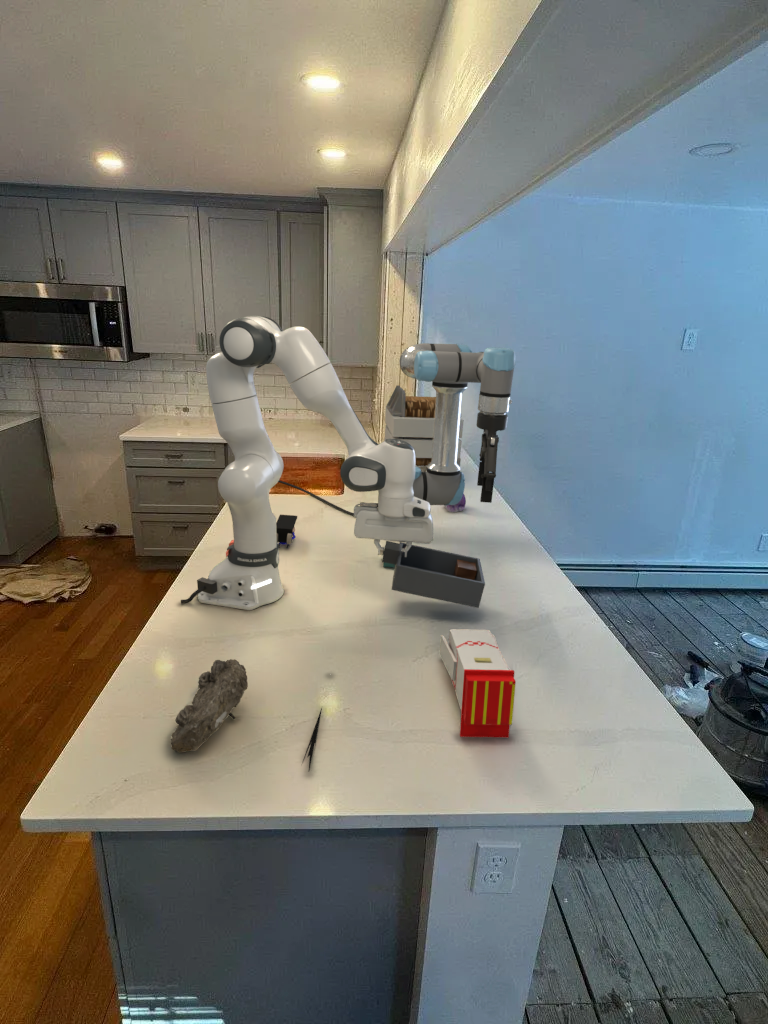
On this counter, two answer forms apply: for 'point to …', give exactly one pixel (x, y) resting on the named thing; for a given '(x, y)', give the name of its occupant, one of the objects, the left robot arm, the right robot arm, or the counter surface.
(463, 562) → the walnut cube
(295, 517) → the figurine character
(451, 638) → the toy
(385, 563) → the teal cube
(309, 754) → the feather
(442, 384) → the right robot arm
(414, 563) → the bin
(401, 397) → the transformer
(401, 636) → the counter surface
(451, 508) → the figurine
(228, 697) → the fossil
